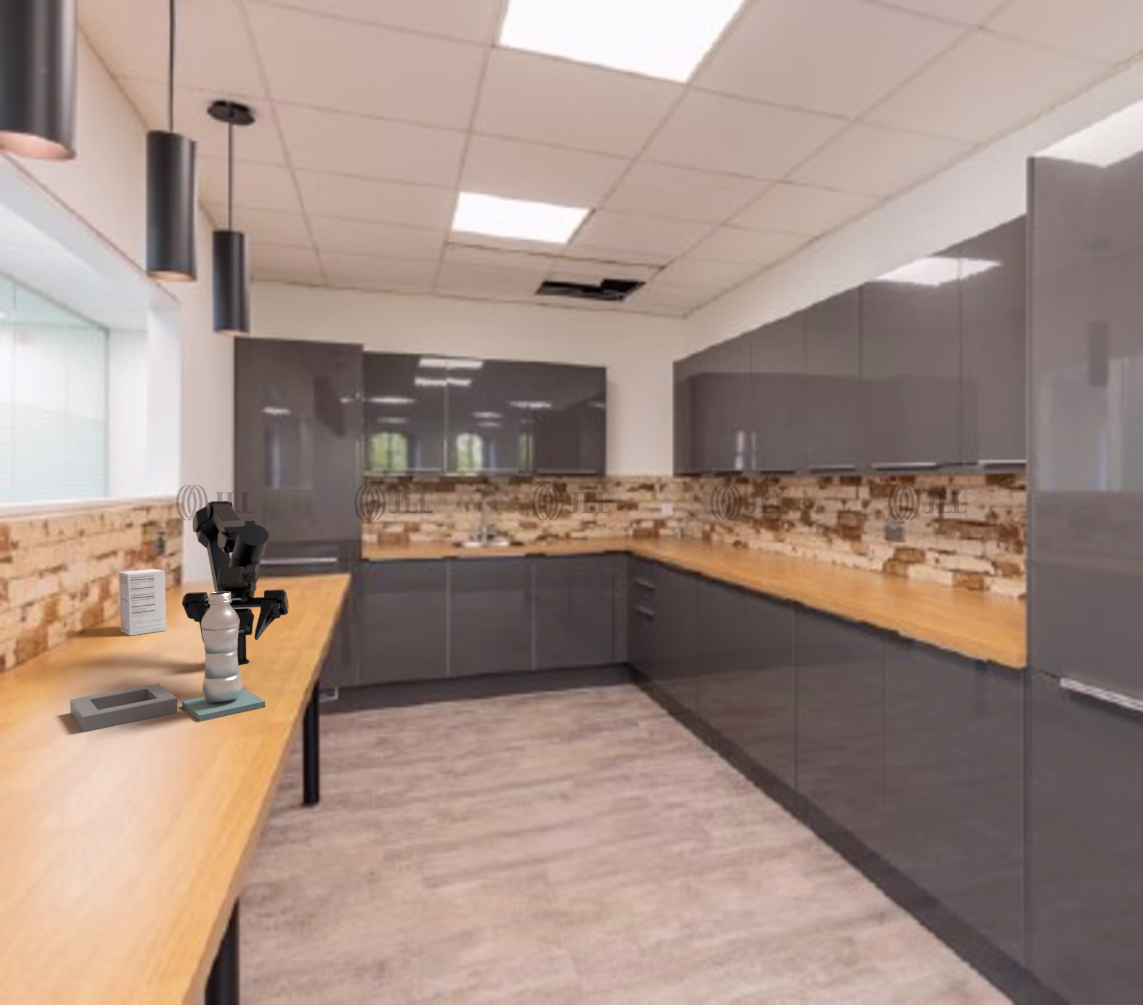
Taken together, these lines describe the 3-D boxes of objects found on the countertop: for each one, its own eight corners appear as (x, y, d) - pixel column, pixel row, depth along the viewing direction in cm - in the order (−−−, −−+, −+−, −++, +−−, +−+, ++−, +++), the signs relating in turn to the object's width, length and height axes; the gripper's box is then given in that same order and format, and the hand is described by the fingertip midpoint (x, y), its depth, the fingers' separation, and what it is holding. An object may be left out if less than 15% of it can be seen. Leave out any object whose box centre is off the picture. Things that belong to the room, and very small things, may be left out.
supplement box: (167, 630, 194) (166, 570, 193) (129, 636, 187) (127, 574, 186) (156, 626, 200) (155, 568, 200) (119, 631, 193) (118, 571, 193)
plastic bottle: (249, 695, 131) (246, 590, 130) (229, 707, 124) (227, 596, 124) (215, 695, 131) (213, 590, 131) (194, 706, 124) (192, 596, 124)
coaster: (244, 693, 135) (244, 688, 135) (265, 706, 127) (265, 701, 127) (182, 706, 128) (181, 701, 128) (199, 721, 120) (199, 715, 120)
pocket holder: (159, 696, 134) (158, 683, 134) (177, 712, 125) (177, 698, 125) (70, 713, 124) (70, 699, 124) (83, 731, 115) (82, 717, 115)
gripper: (183, 552, 136) (165, 619, 126) (285, 549, 140) (275, 614, 130) (196, 585, 144) (180, 651, 134) (292, 582, 148) (284, 646, 138)
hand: (230, 640), depth 134 cm, fingers open, 9 cm apart
